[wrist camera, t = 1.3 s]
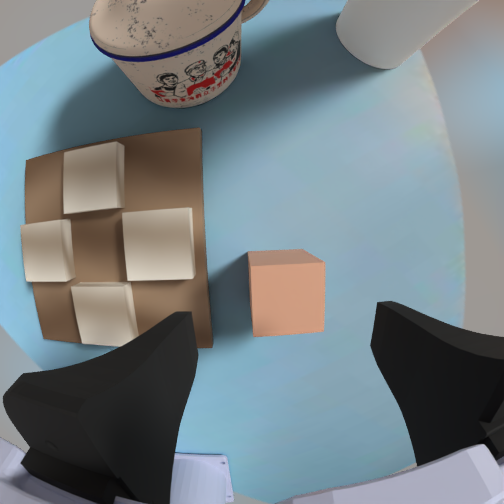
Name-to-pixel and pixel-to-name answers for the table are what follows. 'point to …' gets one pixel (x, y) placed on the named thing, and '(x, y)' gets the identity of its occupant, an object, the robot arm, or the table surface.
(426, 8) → the cylindrical container
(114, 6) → the teacup with lid
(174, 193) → the walnut board
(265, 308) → the terracotta block
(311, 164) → the table surface
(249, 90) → the table surface
